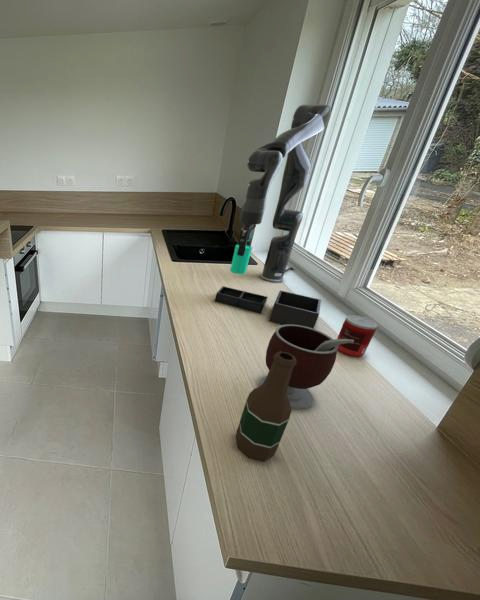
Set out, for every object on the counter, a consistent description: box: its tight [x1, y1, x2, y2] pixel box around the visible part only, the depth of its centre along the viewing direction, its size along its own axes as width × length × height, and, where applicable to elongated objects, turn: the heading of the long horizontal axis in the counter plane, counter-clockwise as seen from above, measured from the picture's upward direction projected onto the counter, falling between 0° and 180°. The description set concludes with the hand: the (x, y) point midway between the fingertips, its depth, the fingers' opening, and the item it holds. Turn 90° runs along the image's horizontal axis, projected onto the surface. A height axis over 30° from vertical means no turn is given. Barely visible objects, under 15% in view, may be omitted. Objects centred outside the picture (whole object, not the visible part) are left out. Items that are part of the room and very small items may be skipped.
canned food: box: [336, 314, 379, 358], centre depth 101 cm, size 8×8×11 cm
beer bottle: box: [235, 351, 297, 463], centre depth 64 cm, size 8×8×24 cm
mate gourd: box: [258, 324, 354, 410], centre depth 80 cm, size 16×14×20 cm
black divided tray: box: [214, 285, 268, 315], centre depth 132 cm, size 9×18×4 cm, turn 53°
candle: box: [229, 243, 253, 275], centre depth 127 cm, size 6×6×12 cm
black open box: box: [268, 290, 322, 329], centre depth 120 cm, size 15×14×8 cm
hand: (242, 253), depth 126 cm, fingers closed on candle, 6 cm apart
